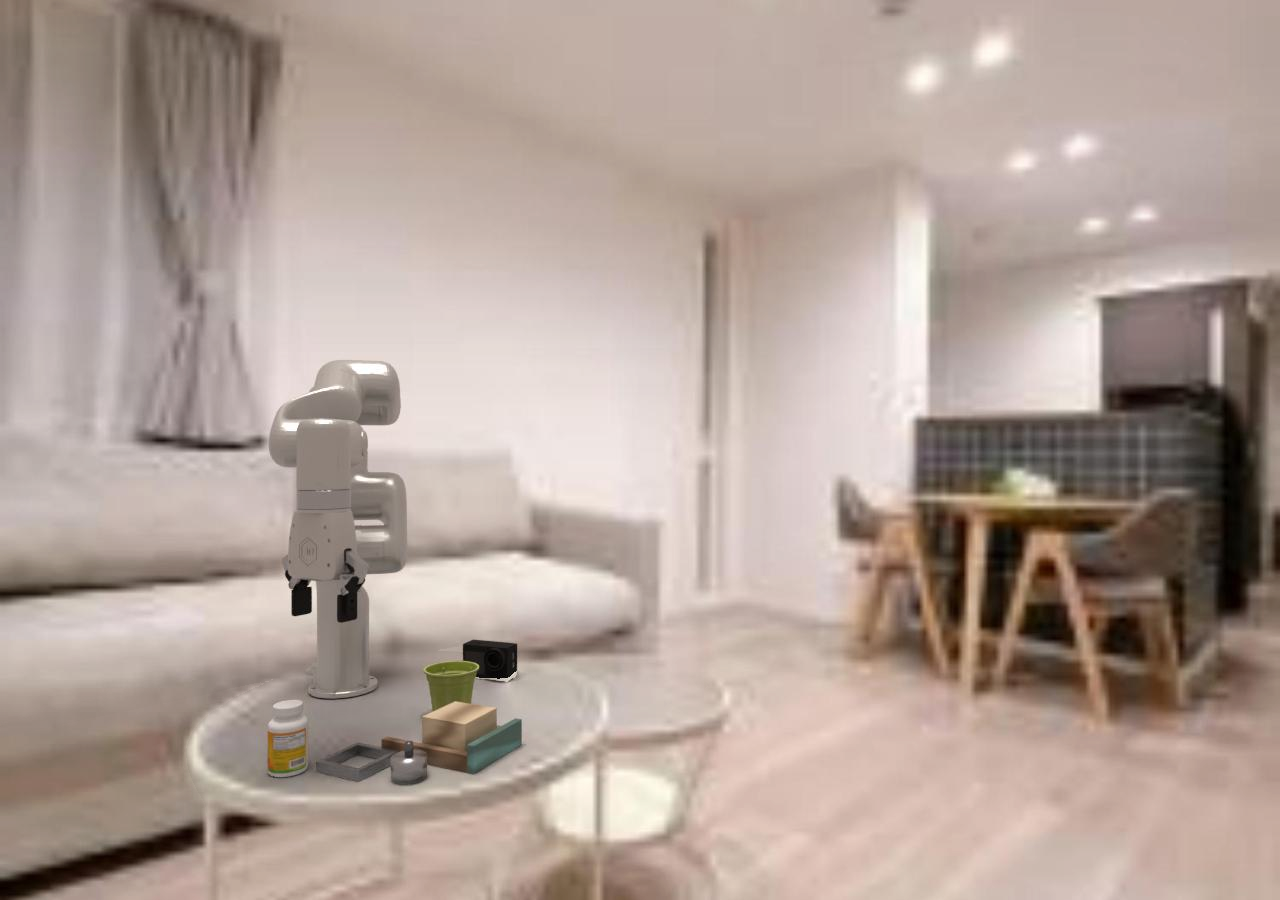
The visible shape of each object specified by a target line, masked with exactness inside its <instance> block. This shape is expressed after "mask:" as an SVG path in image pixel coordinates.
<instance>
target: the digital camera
mask: <svg viewBox="0 0 1280 900" xmlns="http://www.w3.org/2000/svg"><path fill="white" fill-rule="evenodd" d="M462 661H468V662H473V663H476V664H478V665H479V669H478V671H477V673H476V677H479V678H497V679H500V678H508V677H510V676H511V675H512V674H513V673H514V672H516V671H517V672H518V643H516V642H508V641H495V640H483V639H471V640H468V641H467V642H464V643H462Z"/></svg>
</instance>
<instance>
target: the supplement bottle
mask: <svg viewBox="0 0 1280 900" xmlns="http://www.w3.org/2000/svg"><path fill="white" fill-rule="evenodd" d="M303 712H304V703H303V701H302V700H300V699H287V700H282V701H279V702H278V701H277V702H276V703H275V704H273V705H272V716H273V717H274V718H272V719H270V721H269V722H268V724H267V773H268V775H269V774H270V775H269V776H271V777H273V776H274V777H273V778H287V777H293V776H296V775H299V774H301V773H303V772H305V771H306V770H307V769H308V767H309V722H308V718H307V716H306V715H304V714H303Z"/></svg>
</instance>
